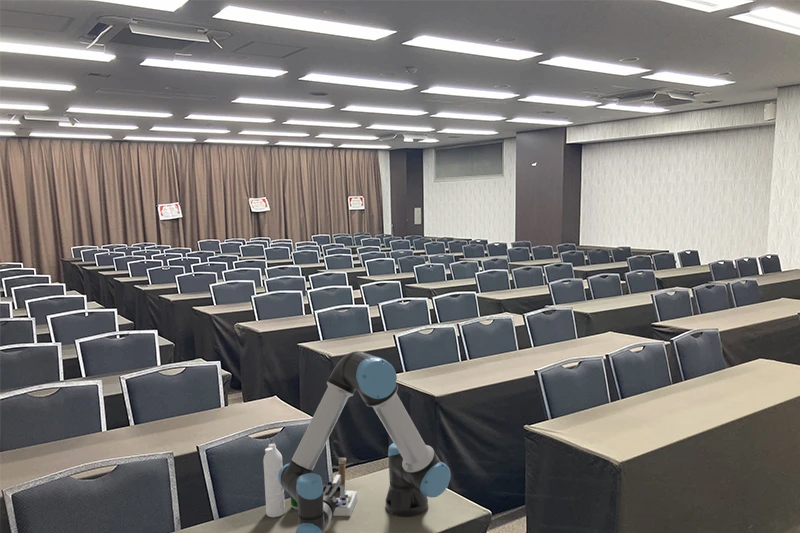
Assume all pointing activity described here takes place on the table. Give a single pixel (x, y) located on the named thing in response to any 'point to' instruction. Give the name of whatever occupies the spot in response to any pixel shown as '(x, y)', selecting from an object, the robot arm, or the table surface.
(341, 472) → the lever
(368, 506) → the table surface
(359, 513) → the table surface
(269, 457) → the water bottle
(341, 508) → the switch box
